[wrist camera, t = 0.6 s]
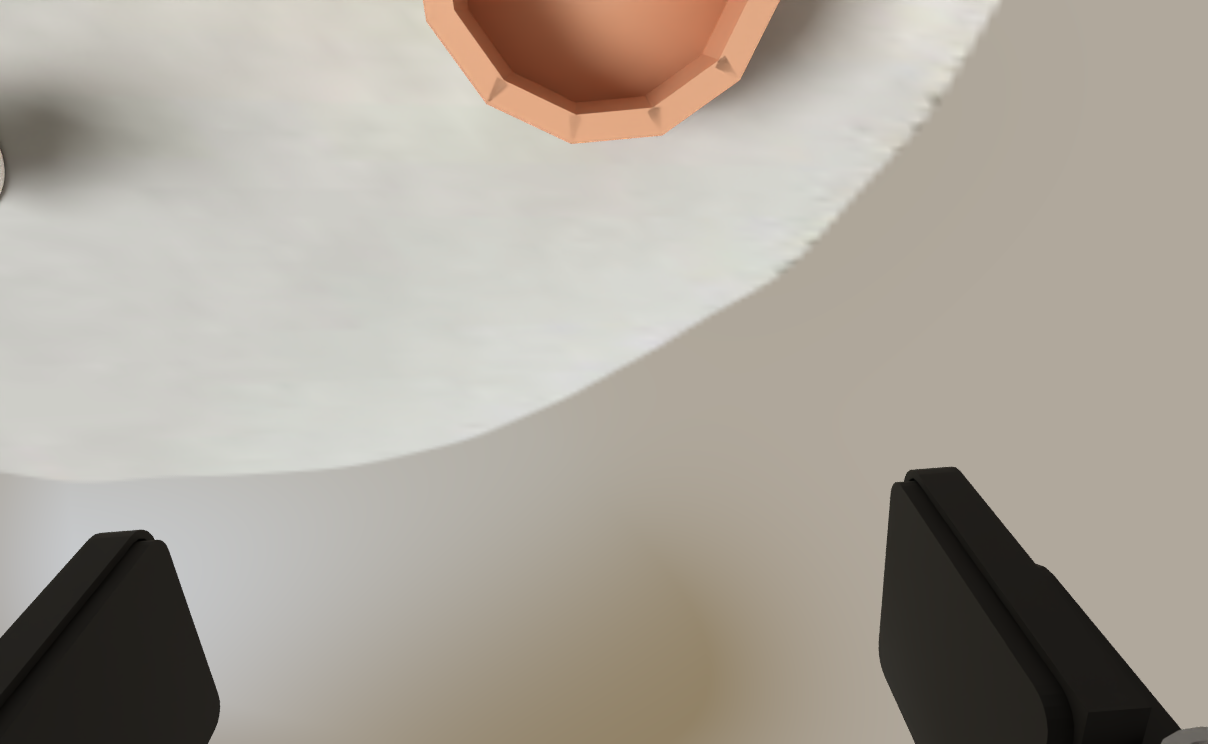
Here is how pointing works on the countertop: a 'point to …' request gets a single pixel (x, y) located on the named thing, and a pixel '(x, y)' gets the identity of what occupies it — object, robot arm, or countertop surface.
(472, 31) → the bowl
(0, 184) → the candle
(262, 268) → the countertop surface
